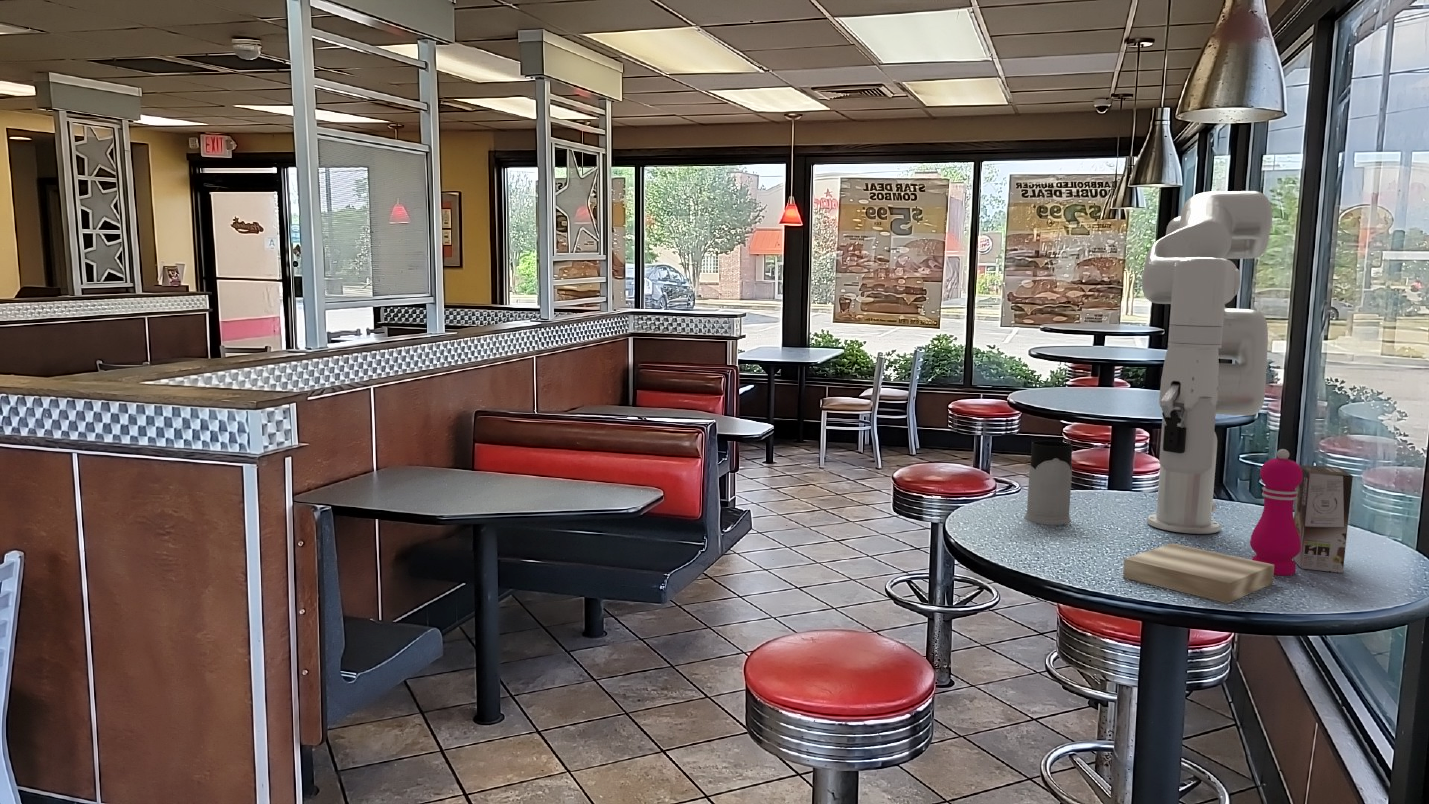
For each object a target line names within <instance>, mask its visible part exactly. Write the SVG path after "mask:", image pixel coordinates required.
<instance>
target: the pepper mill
mask: <svg viewBox="0 0 1429 804" xmlns="http://www.w3.org/2000/svg"><path fill="white" fill-rule="evenodd" d="M1276 456H1277V457H1275V458H1271V459H1268V460H1267V461H1265V462H1264V463H1263V464H1262V466H1261V468H1260V471H1259V472H1260V473H1259V477H1260V480H1261V481H1262V483H1263V484H1264V486H1263V487H1262V488H1261V489H1262V493H1261V495H1262V497H1264V505H1263V511H1262V514H1261V516H1260V518H1259V520H1258V521H1257V523H1256V525H1255V527H1254V529H1253V530H1252V532H1251V536H1250V540H1249V546H1250V547H1251V549H1252V550H1253V551H1254V553H1255V555H1253V556H1252V557H1251V560H1254V561H1259V562H1264V563H1269V564H1273V565H1274V575H1273V576H1284V577H1285V576H1288V577H1289V576H1292V575H1295V573H1296V566H1297V563H1296V562H1295V560H1294V559H1293V558H1294V557H1295V556H1296V555H1298V554H1299V552H1300V550H1301V541H1300V536H1299V533H1298V531H1297V528H1296V526H1295V523H1294V505H1295V500H1296V499H1297V493H1298V491H1297V490H1296V487H1297V486H1298V485H1300V483H1301V482H1302V479H1303V472H1302V469H1301V467H1300V466H1299V465H1300V464H1298V463H1297V462H1296V461H1294V460H1292V459H1289V457H1290V452H1289V451H1288V450H1287V449H1285V448H1281V449H1279V450H1278V451H1277V452H1276Z"/></svg>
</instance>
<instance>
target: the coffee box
mask: <svg viewBox="0 0 1429 804" xmlns="http://www.w3.org/2000/svg"><path fill="white" fill-rule="evenodd" d="M1298 465H1299V466H1300V467H1301V469H1302V472H1303V479H1302V482H1301V483H1300V485H1298V486H1297V487H1296V489H1295V490H1297V491H1298V493H1297V499H1296V500H1294V510H1293V518H1294V523H1295V526H1296V528H1297V531H1298V533H1299V536H1300V541H1301V550H1300V552H1299V554H1298V555H1296V556H1295V557H1294V558H1293V559H1292V560H1293V561H1294V562H1295V563H1296V565H1297V566H1299V568H1300V569H1302V570H1311V571H1322V572H1329V571H1331V572H1330V573H1337V572H1338V573H1337V574H1342V573H1343V574H1344V567H1345V565H1344V564H1345V557H1346V556H1345V555H1346V546H1347V536H1348V535H1347V534H1348V526H1349V517H1350V506H1351V499H1352V498H1351V497H1352V490H1353V489H1352V487H1353V478H1354V476H1353V475H1352V474H1351V473H1349V472H1347V471H1346V470H1344V469H1342V468H1341V467H1340V466H1327V465H1301V464H1298Z"/></svg>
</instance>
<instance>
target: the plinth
mask: <svg viewBox="0 0 1429 804" xmlns="http://www.w3.org/2000/svg"><path fill="white" fill-rule="evenodd" d="M1122 573H1123V574H1122V578H1124V579H1129V580H1132V581H1136V582H1140V583H1144V584H1147V585H1153V586H1156V587H1161V588H1164V589H1169V590H1173V591H1177V592H1181V593H1185V594H1189V595H1194V596H1197V597H1201V598H1206V599H1209V600H1212V601H1213V600H1214V601H1217V602H1221V603H1225V604H1230V603H1231V602H1234V601H1237V600H1238V599H1241V598H1244V597H1246V596H1248V595H1250V594H1252V593H1254V592H1257V591H1259V590H1261V589H1264V588H1265V587H1268V586H1270V585H1273V584H1274V576H1275V575H1274V565H1273V564H1269V563H1264V562H1259V561H1254V560H1252V559H1249V558H1244V557H1239V556H1234V555H1229V554H1226V553H1220V552H1215V551H1211V550H1206V549H1203V548H1202V549H1201V548H1196V547H1193V546H1188V545H1182V544H1177V543H1174V542H1173V543H1169V544H1166V545H1162V546H1158V547H1156V548H1154V549H1150V550H1147V551H1144V552H1141V553H1138V554H1136V555H1135V554H1134V555H1132V556H1128V557H1126V558H1124V559H1123V572H1122Z"/></svg>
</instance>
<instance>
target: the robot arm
mask: <svg viewBox="0 0 1429 804" xmlns="http://www.w3.org/2000/svg"><path fill="white" fill-rule="evenodd" d="M1272 224H1273V210H1272V205H1271V201H1270V200H1269V198H1268V197H1267V196H1266V194H1264V193H1263V192H1260V191H1257V190H1251V191H1250V190H1241V191H1239V190H1238V191H1236V190H1235V191H1234V190H1232V191H1226V190H1225V191H1224V190H1223V191H1204V192H1200V193H1197V194H1194V195H1192V196H1191V197H1190V198H1189V199H1187V200H1186V201H1185V203H1184V204H1183V206H1182V208H1181V211H1180V215H1179V216H1176V217H1174V218H1173V219H1171V220H1170V221H1169V222H1168V225H1167V226H1166V231H1165V236H1162V237H1161V238H1159V239H1157V240H1156V241H1155V242H1154V243H1153V244H1152V245H1151V246H1150V248H1149V250H1148V252H1147V254H1146V256H1145V260H1144V264H1143V265H1144V267H1143V270H1142V276H1141V289H1142V294H1143V295H1144V297H1145V299H1146V300H1147V301H1149V302H1150V303H1153V304H1160V305H1161V304H1162V305H1168V304H1169V305H1170V314H1169V327H1168V340H1167V341H1168V342H1167V348H1166V349H1167V350H1166V353H1165V358H1164V362H1163V367H1162V373H1161V379H1160V388H1159V401H1158V404H1159V407H1160V408H1161V411H1162V412H1161V414H1162V418H1163V417H1164V421H1163V425H1164V440H1163V450H1164V451H1167V452H1174V453H1184V452H1185V441H1186V428H1185V427H1184V424H1185V421H1186V418H1187V413H1188V411H1191V410H1193V408H1194V407H1195V406H1196V404H1197V403H1198V402H1199V400H1198V399H1199V398H1210V397H1211V398H1212V400H1211V403H1212V404H1213V405H1214V406H1215V407H1216V415H1224V416H1225V415H1226V416H1227V415H1228V416H1253V415H1256V414H1258V413H1259V412H1260V411H1261V410H1262V408H1263V405H1264V402H1265V397H1266V396H1265V395H1266V384H1267V363H1268V345H1269V331H1268V328H1269V327H1268V322H1267V320H1266V317H1265V315H1264V314H1263V313H1262V312H1260V311H1258V310H1255V309H1249V308H1227V307H1226V305H1227V304H1228V303H1229V302H1231V301H1232V300H1233V299H1234V297H1235V296H1237V295H1238V293H1239V292H1240V291H1239V290H1240V287H1241V272H1240V270H1239V269H1238V268H1237V266H1236V264H1235V263H1234V262H1233V261H1231V260H1242V259H1244V260H1245V259H1246V260H1249V259H1257V258H1258V257H1261V256H1262V255H1263V254H1264V253H1265V251H1266V249H1267V247H1268V244H1269V240H1270V235H1271V231H1272ZM1230 259H1231V260H1230ZM1219 359H1220V360H1222V359H1223V360H1233V361H1236V362H1237V363H1221V362H1220V361H1219ZM1174 403H1181V404H1184V406H1183V407H1178V406H1173V404H1174ZM1177 412H1181V414H1180V417H1179V416H1178V414H1177ZM1217 452H1218V436H1217V433H1216V431H1215V430H1214V441H1213V453H1212V465H1211V469H1209V470H1208V471H1206V473H1204V474H1182V473H1175V472H1170V471H1166V470H1164V468H1163V467H1162V466H1161V465H1160V464H1159V476H1158V490H1157V501H1156V502H1157V503H1156V513H1154V514H1150V515H1148V516H1147V521H1146V523H1147V524H1148V525H1150V526H1151V527H1154V528H1157V529H1160V530H1164V531H1169V532H1172V533H1173V532H1175V533H1180V534H1193V535H1208V534H1209V535H1210V534H1215V533H1217V532H1219V531H1220V529H1221V527H1220V526H1221V525H1220V523H1219V522H1218V521H1216V520H1214V519H1212V515H1213V514H1212V513H1213V512H1216V511H1217V509H1218V505H1217V504H1216V503H1215V502H1213V500H1214V488H1215V479H1216V477H1215V476H1216V474H1215V473H1216V466H1217V465H1216V464H1217Z"/></svg>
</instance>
